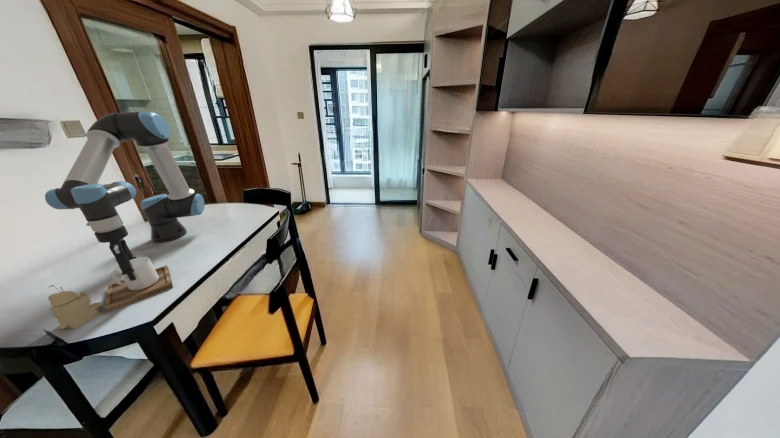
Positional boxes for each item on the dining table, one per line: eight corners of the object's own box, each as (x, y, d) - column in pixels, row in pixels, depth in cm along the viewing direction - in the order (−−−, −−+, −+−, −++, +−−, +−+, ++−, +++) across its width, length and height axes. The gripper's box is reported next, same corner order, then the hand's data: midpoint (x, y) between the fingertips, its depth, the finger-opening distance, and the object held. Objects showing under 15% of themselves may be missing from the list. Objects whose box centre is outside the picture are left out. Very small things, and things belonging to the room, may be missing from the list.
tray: (110, 288, 99) (108, 284, 98) (168, 269, 110) (166, 265, 109) (107, 312, 87) (104, 307, 86) (173, 287, 98) (171, 283, 97)
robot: (88, 307, 89) (64, 272, 83) (108, 308, 88) (85, 273, 82) (49, 331, 80) (19, 294, 74) (71, 332, 79) (42, 294, 73)
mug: (164, 274, 103) (154, 255, 99) (151, 288, 95) (140, 268, 91) (129, 279, 101) (118, 260, 97) (113, 294, 93) (100, 273, 89)
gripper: (96, 223, 93) (124, 273, 102) (89, 242, 78) (123, 298, 87) (124, 217, 97) (149, 265, 106) (122, 234, 83) (151, 288, 92)
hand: (137, 280), depth 97 cm, fingers closed on mug, 9 cm apart
